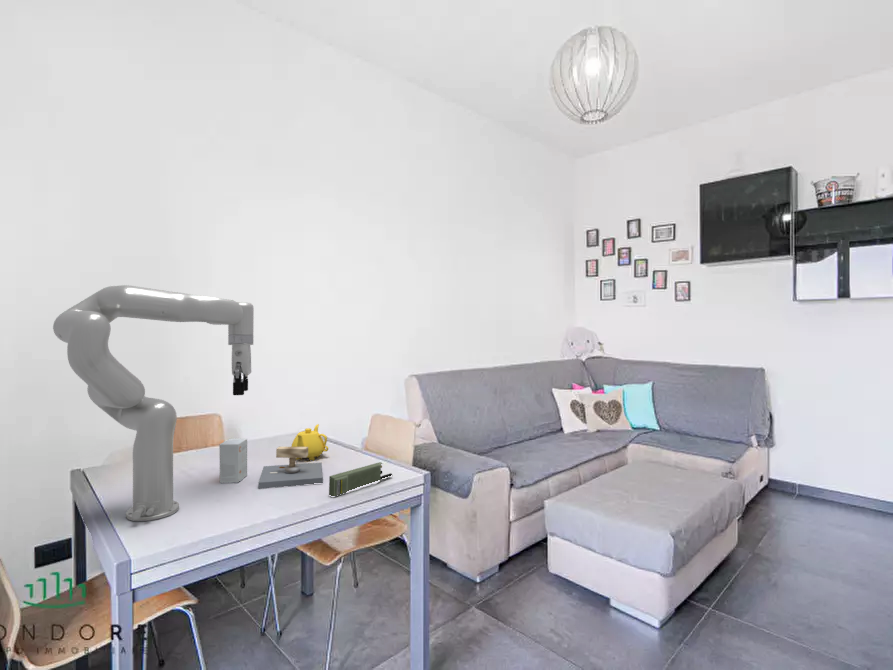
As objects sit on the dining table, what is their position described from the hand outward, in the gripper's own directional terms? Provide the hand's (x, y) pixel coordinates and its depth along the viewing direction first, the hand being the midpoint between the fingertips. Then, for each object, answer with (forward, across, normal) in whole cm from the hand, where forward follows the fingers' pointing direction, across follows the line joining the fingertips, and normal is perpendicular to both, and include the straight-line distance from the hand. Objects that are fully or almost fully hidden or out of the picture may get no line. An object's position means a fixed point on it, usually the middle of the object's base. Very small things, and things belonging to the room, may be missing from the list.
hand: (240, 392), depth 153 cm
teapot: (+31, +28, -22) cm, 47 cm away
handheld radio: (+31, -11, -38) cm, 51 cm away
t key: (+28, +4, -16) cm, 33 cm away
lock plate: (+30, +4, -16) cm, 34 cm away
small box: (+31, +7, +3) cm, 31 cm away
